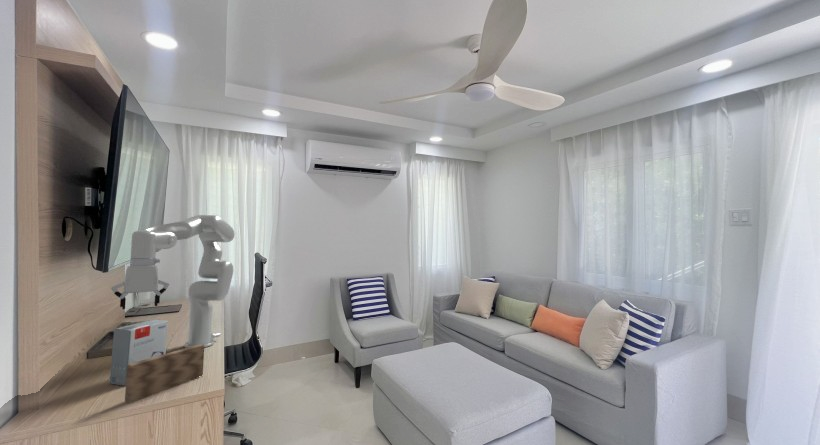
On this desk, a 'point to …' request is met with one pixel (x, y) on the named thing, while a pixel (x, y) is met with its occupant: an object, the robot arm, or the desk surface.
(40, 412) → the desk surface
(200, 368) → the walnut board
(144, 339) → the hard drive box
